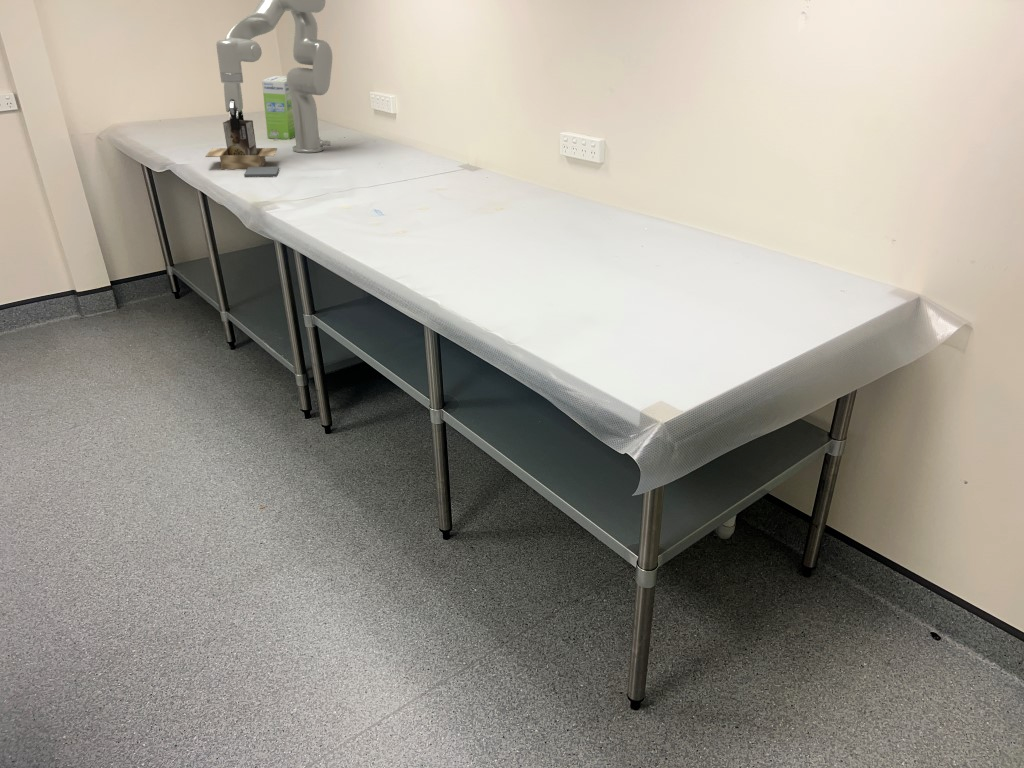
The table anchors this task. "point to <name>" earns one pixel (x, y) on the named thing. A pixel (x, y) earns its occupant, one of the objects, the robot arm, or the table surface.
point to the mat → (261, 172)
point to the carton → (241, 158)
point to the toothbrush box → (278, 108)
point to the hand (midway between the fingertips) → (238, 127)
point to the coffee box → (240, 139)
